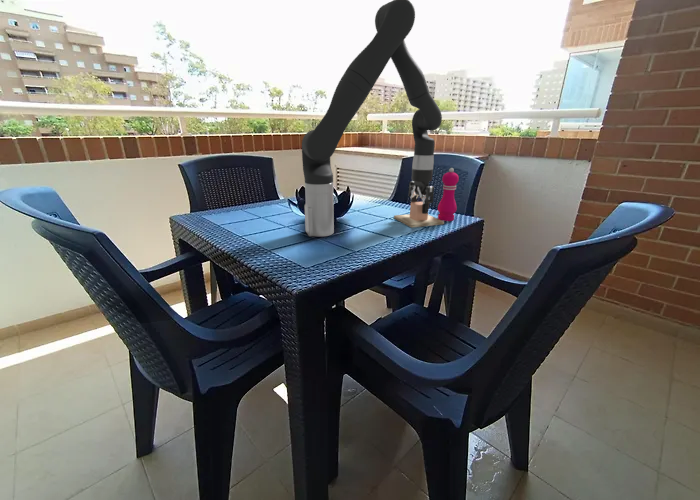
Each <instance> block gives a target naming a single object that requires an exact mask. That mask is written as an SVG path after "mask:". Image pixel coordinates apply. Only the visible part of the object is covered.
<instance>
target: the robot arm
mask: <svg viewBox="0 0 700 500" xmlns="http://www.w3.org/2000/svg"><path fill="white" fill-rule="evenodd" d="M415 19H416V11H415V6H414V4H413V2H412V1H411V0H392V1H390V2H389V1H388V2H387V3H385V4H383V5H382V6H380V7H379V9H377V11H376V14H375V17H374V26H375V29H376V33H375V35H374V37H373V38H372V40H370V42H369V43H368V44H367V45H366V46H365V47H364V48H363V50H361V51H360V53H358V54H357V56H356V57H355V58H354V59H353V60H352V62H351V63H350V64H349V66H348V67H347V69H346V70H345V71H344V73H343V75H342V77H341V78H340V79H339V81H338V83H337V86H336V88H335V90H334V92H333V95H332V97H331V101H330V104H329V107H328V109H327V111H326V112H325V114H324V116H322V119H321V120H320V121H319V123H318V124H317V125H316V127H315V128H314V129H312V130H309V131H308V132H306V133H305V134H304V136H303V138H302V141H301V157H302V159H301V160H302V171H303V175H304V191H305V196H304V197H305V204H304V224H305V225H304V227H305V232H306V234H307V236H308V237H328V236H331V235H333V234H334V232H335V229H334V228H335V225H334V222H335V219H334V218H335V217H334V214H335V213H334V211H335V210H334V206H335V205H334V174H333V171H332V165H331V157H332V156H333V154H334V153H335V151H336V150H337V147H338V145H339V142H340V140H341V139H342V136H343V135H344V133H345V131H346V129H347V127H348V125H349V124H350V122H351V121H352V119H353V118H354V117H355V116H356V115H357V112H358V111H359V110H360V108H361V107H362V105H363V103H364V102H365V100H366V99H367V97H368V95H370V92H371V91H372V89H373V88H374V87H375V85H376V82H378V80H379V78H380V76H381V74H382V73H383V71H384V69H385V68H386V66H387V65H388V63H389V61H390V59H391V61H392V63H393V65H394V66H395V69H396V71H397V73H398V75H399V78H400V79H401V83H402V85H403V89H404V91H405V94H406V97H407V99H408V102H409V105H411V106H412V107H413V108H416V109H418V110H416V111H415V112H414V113H413V116H412V118H411V128H412V134H413V140H414V147H413V148H414V149H413V157H412V158H413V159H412V167H411V181H409V183H408V195H407V196H408V197H410V200H411V202H418V197H419V198H420V199H421V202H423V205H422V213H423V214H427V213H428V214H429V209H428V208H430V204H433V203H434V194H435V193H434V191H435V186H433V185H432V186H430V184H429V183H430V182H432V181H433V173H434V162H435V159H434V158H435V157H434V154H435V145H436V142H435V141H436V140H435V139H434V138H433V137H430V136H429V133H428V131H435V130H437V129H439V128H440V126H441V125H442V119H443V117H442V116H443V115H442V111H441V109H440V107H439V105H438V104H437V102H436V101H435V99H434V97H433V96H432V94H431V93H430V89H429V87H428V83H427V80H426V78H425V74H424V73H423V71H422V68H421V67H420V65H419V64H418V63H417V61H416V60H415V58H414V57H413V55H412V54H411V52H410V50H409V49H408V46H407V45H406V44H407V43H406V42H405V39H406V38H407V36H409V34H410V32H411V31H412V29H413V27H414V24H415ZM411 202H410V203H411Z"/></svg>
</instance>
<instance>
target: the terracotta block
mask: <svg viewBox="0 0 700 500" xmlns="http://www.w3.org/2000/svg"><path fill="white" fill-rule="evenodd" d="M422 205H423V202H422V201H417V202H410V207H409V214H410V218H412V219H414V220H416V221H419V220H427V219H428V215H429V212H428V213H427V214H423V213H422ZM429 208H430V207H429ZM429 208H428V210H429Z"/></svg>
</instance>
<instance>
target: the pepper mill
mask: <svg viewBox="0 0 700 500" xmlns="http://www.w3.org/2000/svg"><path fill="white" fill-rule="evenodd" d="M454 169H455V168H453V167H450V168H449V169H448V172H446V173H444V174H443V175H442V183H443V185H442V189H443V193H442V197H441V199H440V201H439V203H438V205H437V211H438V215H437V219H439V220H441V221H444V222H453V221H454V220H455V213H456V212H457V208H458V207H457V202H456V200H455V192H456V191H455V190H457V184H458V183H459V175H458V174H457V173H456V172H454V171H455V170H454Z"/></svg>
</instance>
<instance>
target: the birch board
mask: <svg viewBox="0 0 700 500" xmlns="http://www.w3.org/2000/svg"><path fill="white" fill-rule="evenodd" d="M393 219H395V220H397V221H398V222H401V223H402V224H404V225H405V226H408V227H410V228H420V227H428V226H429V227H431V226H439V225H444V224H445V221H442V220H439V219H438V217H435V216H432V215H430V214H428V219H427V220H419V221H416V220H414V219H412V218H410V213H408V214H397V215H393Z"/></svg>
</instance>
